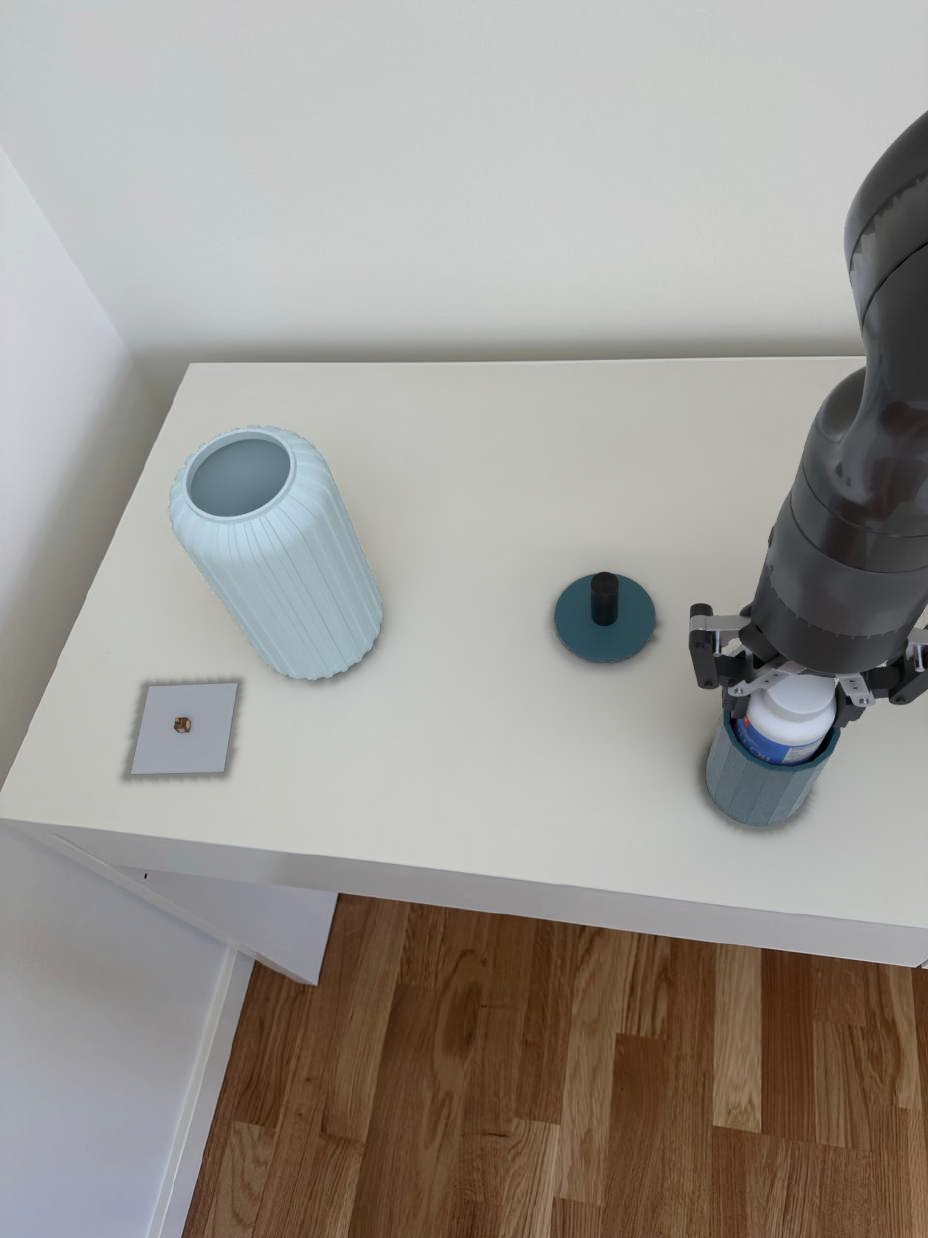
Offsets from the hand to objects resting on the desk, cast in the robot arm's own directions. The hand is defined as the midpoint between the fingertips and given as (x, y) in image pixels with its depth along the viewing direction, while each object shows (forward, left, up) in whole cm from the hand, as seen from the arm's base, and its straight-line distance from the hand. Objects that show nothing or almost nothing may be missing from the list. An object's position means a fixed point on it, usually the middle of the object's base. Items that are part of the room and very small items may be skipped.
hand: (787, 708), depth 57 cm
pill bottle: (0, 0, -6) cm, 6 cm away
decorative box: (+46, 0, -13) cm, 48 cm away
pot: (0, 0, -13) cm, 13 cm away
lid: (+12, -13, -13) cm, 22 cm away
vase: (+36, -10, -13) cm, 40 cm away
